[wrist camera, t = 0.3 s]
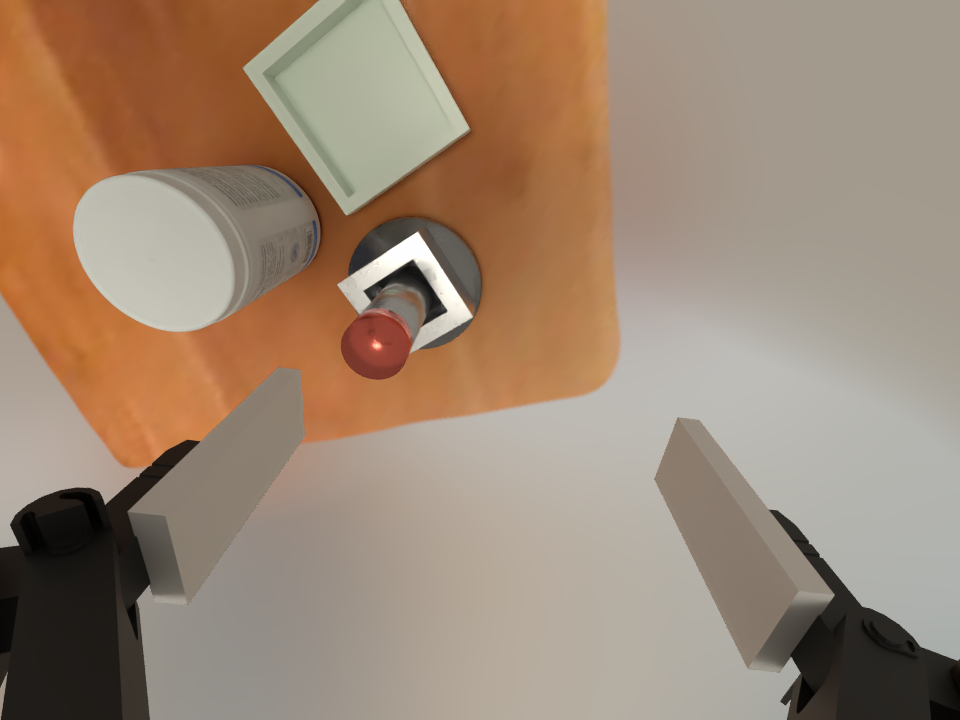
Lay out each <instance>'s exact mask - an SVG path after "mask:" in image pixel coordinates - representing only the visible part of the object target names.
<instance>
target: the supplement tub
mask: <svg viewBox="0 0 960 720" xmlns="http://www.w3.org/2000/svg"><path fill="white" fill-rule="evenodd" d="M73 236H74V243H75V247H76V251H77V254H78V257H79V259H80V262H81V264H82V266H83V268H84V270H85V272H86V274H87V275H88V277H89V278H90V280H91V281H92V283H93V284H94V285H95V287H96V288H97V289H98V290H99V292H100V293H101V294H102V295H103V296H104V297H105V298H106V299H107V300H108V301H109V302H110V303H112V304H113V305H114V306H115V307H116V308H118V309H119V310H120V311H122V312H123V313H124V314H126V315H128V316H129V317H131V318H133V319H135V320H136V321H138V322H140V323H143V324H145V325H147V326H150V327H153V328H156V329H160V330H165V331H172V332H187V331H194V330H198V329H201V328H204V327H206V326H208V325H211V324H214V323H216V322H219V321H221V320H223V319H225V318H226V317H228V316H230V315H231V314H233V313H235V312H237V311H238V310H240V309H242V308H243V307H245V306H246V305H248V304H250V303H251V302H253V301H254V300H256V299H258V298H259V297H261V296H263V295H264V294H266V293H267V292H269V291H271V290H272V289H274V288H275V287H277V286H279V285H280V284H282V283H283V282H285V281H287V280H288V279H290V278H292V277H293V276H295V275H296V274H298V273H299V272H301V271H302V270H304V269H305V268H306V267H307V266H308V265H309V264H310V263H311V262H312V260H313V259H314V257H315V255H316V253H317V251H318V248H319V243H320V223H319V219H318V215H317V212H316V210H315V207H314V205H313V204H312V202H311V200H310V199H309V197H308V196H307V194H306V193H305V192H304V191H303V190H302V189H301V187H300V186H298V185H297V184H296V183H295V182H294V181H293V180H292V179H290V178H289V177H288V176H286V175H285V174H283V173H281V172H279V171H277V170H274V169H272V168H269V167H265V166H260V165H236V166H216V167H195V168H174V169H157V170H143V171H136V172H131V173H126V174H123V175H117V176H113V177H109V178H106V179H104V180H101V181H99V182H98V183H96V184H95V185H93V186H92V187H91V188H89V189H88V190H87V191H86V193H85V194H84V195H83V196H82V198H81V200H80V201H79V203H78V205H77V208H76V211H75V215H74V221H73Z"/></svg>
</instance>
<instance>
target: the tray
mask: <svg viewBox="0 0 960 720" xmlns="http://www.w3.org/2000/svg"><path fill="white" fill-rule="evenodd" d="M243 70H244V71H245V73H246V74H247V75H248V77H249V78H250V80H251V81H252V82H253V84H254V85H255V87H256V88H257V90H258V91H259V92H260V94H261V95H262V97H263V98H264V100H265V101H266V102H267V104H268V105H269V107H270V108H271V109H272V111H273V112H274V114H275V115H276V117H277V118H278V119H279V121H280V122H281V124H282V125H283V127H284V128H285V129H286V131H287V132H288V134H289V135H290V136H291V138H292V139H293V141H294V142H295V144H296V145H297V146H298V148H299V149H300V151H301V152H302V154H303V155H304V156H305V158H306V159H307V161H308V162H309V163H310V165H311V166H312V168H313V169H314V171H315V172H316V173H317V175H318V176H319V178H320V179H321V181H322V182H323V183H324V185H325V186H326V188H327V189H328V190H329V192H330V193H331V195H332V196H333V198H334V199H335V200H336V202H337V203H338V205H339V206H340V208H341V209H342V210H343V212H344V213H345V215H346V216H347V215H350V214H353V213H356V212H357V211H358V210H360V209H361V208H363V207H364V206H366V205H367V204H368V203H370V202H371V201H373V200H374V199H375V198H377V197H378V196H380V195H381V194H383V193H384V192H385V191H387V190H388V189H390V188H391V187H393V186H394V185H395V184H397V183H398V182H400V181H401V180H403V179H404V178H405V177H407V176H408V175H410V174H411V173H413V172H414V171H415V170H417V169H418V168H420V167H421V166H422V165H424V164H425V163H427V162H428V161H430V160H431V159H432V158H434V157H435V156H437V155H438V154H440V153H441V152H442V151H444V150H445V149H447V148H448V147H450V146H451V145H452V144H454V143H455V142H457V141H458V140H459V139H461V138H462V137H464V136H465V135H467V134H468V133H469V132H471V129H470V127H469V125H468V124H467V122H466V120H465V118H464V116H463V115H462V113H461V111H460V109H459V107H458V105H457V104H456V102H455V100H454V98H453V96H452V95H451V93H450V91H449V89H448V87H447V85H446V84H445V82H444V80H443V78H442V76H441V75H440V73H439V71H438V69H437V67H436V66H435V64H434V62H433V60H432V58H431V56H430V55H429V53H428V51H427V49H426V47H425V46H424V44H423V42H422V40H421V38H420V36H419V35H418V33H417V31H416V29H415V27H414V26H413V24H412V22H411V20H410V18H409V17H408V15H407V13H406V11H405V9H404V7H403V6H402V4H401V2H400V0H319V1H318V2H317V3H316V4H314V5H313V6H312V7H311V8H310V9H309V10H308V11H306V12H305V13H304V14H303V15H302V16H301V17H300V18H299V19H297V20H296V21H295V22H294V23H293V24H292V25H291V26H290V27H288V28H287V29H286V30H285V31H284V32H283V33H282V34H280V35H279V36H278V37H277V38H276V39H275V40H274V41H273V42H271V43H270V44H269V45H268V46H267V47H266V48H265V49H263V50H262V51H261V52H260V53H259V54H258V55H257V56H256V57H254V58H253V59H252V60H251V61H250V62H249V63H248V64H247V65H245V66H244V67H243Z"/></svg>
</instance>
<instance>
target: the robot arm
mask: <svg viewBox="0 0 960 720" xmlns="http://www.w3.org/2000/svg"><path fill="white" fill-rule="evenodd" d="M304 437H305V431H304V414H303V398H302V381H301V370H297V369H289V368H281V367H278V368H277V369H276V370H275V371H274V372H273V373H272V374H271V375H270V376H269V377H268V378H267V379H266V380H264V381H263V382H262V383H261V384H260V385H259V386H258V387H257V388H256V389H255V390H254V391H253V392H252V393H251V394H250V395H249V396H248V397H247V398H246V399H245V400H244V401H243V402H241V403H240V404H239V405H238V406H237V407H236V408H235V409H234V410H233V411H232V412H231V413H230V414H229V415H228V416H227V417H226V418H225V419H224V420H223V421H222V422H221V423H220V424H218V425H217V426H216V427H215V428H214V429H213V430H212V431H211V432H210V433H209V434H208V435H207V436H206V437H205V438H204V439H203V440H202V441H193V440H186V441H184V442H182V443H180V444H178V445H176V446H174V447H172V448H170V449H168V450H167V451H166V452H164V453H163V454H162V455H161V456H160V457H159V458H158V459H157V460H155V461H154V462H153V463H152V466H149V467H147V468H146V469H145V470H144V471H143V472H142V473H141V474H140V476H139V477H136V478H135V479H134V480H133V481H132V482H131V483H129V484H128V485H127V486H126V487H125V488H124V489H123V490H122V491H120V492H119V493H118V494H117V495H116V496H115V497H114V498H112V499H111V500H110V501H109V502H108V503H107V504H106V505H105V504H104V501H103V498H102V496H101V494H100V492H98V491H96V490H94V489H91V488H71V489H65V490H60V491H57V492H54V493H51V494H49V495H46V496H43V497H41V498H39V499H37V500H35V501H34V502H32V503H30V504H28V505H27V506H25V508H23V509H22V510H21V511H20V512H18V513H17V514H16V515H15V517H14V519H13V520H12V522H11V524H10V526H11V528H12V530H13V532H14V535H15V537H16V539H17V541H18V543H19V546H12V547H4V548H0V687H1V685H2V683H3V680H4V678H5V676H6V674H7V672H8V674H7V682H6V688H5V695H4V702H3V710H2V716H1V720H150V717H149V706H148V696H147V686H146V676H145V665H144V655H143V645H142V635H141V624H140V614H139V607H138V604H137V601H136V600H137V599H138V598H139V596H140V595H141V594H142V593H143V592H144V590H145V589H146V588H147V587H148V585H150V588H151V592H152V595H153V598H154V601H155V602H163V603H173V604H181V605H189V603H190V602H191V600H192V598H193V597H194V596H195V594H196V593H197V592H198V590H199V589H200V587H201V586H202V584H203V583H204V582H205V580H206V579H207V577H208V576H209V574H210V573H211V571H212V570H213V568H214V567H215V566H216V564H217V563H218V561H219V560H220V558H221V557H222V555H223V554H224V552H225V551H226V550H227V548H228V547H229V545H230V544H231V542H232V541H233V540H234V538H235V537H236V535H237V534H238V532H239V531H240V529H241V528H242V527H243V525H244V524H245V522H246V521H247V519H248V518H249V516H250V515H251V513H252V512H253V511H254V509H255V508H256V506H257V505H258V503H259V502H260V500H261V499H262V498H263V496H264V495H265V493H266V492H267V490H268V489H269V487H270V486H271V485H272V483H273V482H274V480H275V478H276V477H277V476H278V474H279V473H280V471H281V470H282V469H283V467H284V466H285V464H286V463H287V461H288V460H289V458H290V457H291V455H292V454H293V453H294V451H295V450H296V448H297V447H298V445H299V444H300V443H301V441H302V440H303V438H304ZM655 481H656V483H657V486H658V487H659V489H660V492H661V494H662V495H663V497H664V499H665V502H666V504H667V506H668V508H669V510H670V512H671V514H672V516H673V518H674V520H675V522H676V524H677V526H678V528H679V530H680V532H681V534H682V536H683V538H684V540H685V542H686V544H687V546H688V548H689V550H690V553H691V555H692V557H693V559H694V561H695V562H696V565H697V567H698V569H699V571H700V573H701V575H702V577H703V579H704V581H705V583H706V585H707V587H708V589H709V591H710V593H711V595H712V597H713V599H714V601H715V603H716V605H717V607H718V609H719V611H720V613H721V616H722V618H723V620H724V622H725V624H726V626H727V628H728V630H729V632H730V633H731V636H732V638H733V640H734V642H735V644H736V646H737V648H738V650H739V652H740V654H741V656H742V658H743V660H744V662H745V664H746V666H747V668H748V669H753V670H762V671H771V672H780V671H781V670H782V668H783V667H784V666H785V664H786V663H787V661H788V660H789V658H790V657H792V659H793V661H794V662H795V664H796V666H797V667H798V669H799V671H800V672H801V674H800V675H799V676H798V678H797V679H796V680H795V682H794V683H793V684H792V686H791V687H790V689H789V690H788V691H787V692H786V694H785V695H784V696H783V698H782V700H781V702H782V703H783V704H784V705H786V704H787V703H788V702H789V701H790V700H791V702H790V707H789V713H788V717H787V720H960V659H959V660H958V661H957V660H954V659H951V658H948V657H946V656H943V655H940V654H938V653H935V652H932V651H930V650H927V649H925V648H921V647H920V646H919V645H918V643H917V642H916V641H915V639H914V638H913V637H912V636H911V635H910V634H909V633H908V632H907V631H906V630H905V629H903V628H902V627H901V626H900V625H899V624H897V623H896V622H894V621H893V620H891V619H890V618H888V617H887V616H885V615H883V614H881V613H879V612H877V611H875V610H872V609H870V608H865V607H862V606H861V605H860V603H859V602H858V601H857V600H856V598H855V597H854V596H853V595H852V594H851V593H850V591H849V590H848V589H847V588H846V586H845V585H844V584H843V583H842V581H841V580H840V579H839V578H838V576H837V575H836V574H835V573H834V572H833V570H832V569H831V568H830V567H829V565H828V564H827V563H826V562H825V561H824V559H823V558H820V556H819V555H820V554H819V553H818V552H817V551H816V550H815V548H814V547H813V546H812V545H811V544H809V541H808V540H807V538H806V537H805V536H804V535H803V534H802V532H801V531H800V530H799V529H798V527H797V526H796V525H795V524H794V523H792V522H791V521H790V520H789V519H787V518H786V517H785V516H784V515H782V514H781V513H780V512H779V511H777V510H769V509H768V508H767V507H766V506H765V504H764V503H763V502H762V500H761V499H760V498H759V497H758V495H757V494H756V493H755V491H754V490H753V489H752V488H751V486H750V485H749V484H748V483H747V481H746V480H745V479H744V477H743V476H742V475H741V473H740V472H739V471H738V469H737V468H736V467H735V466H734V464H733V463H732V462H731V461H730V459H729V458H728V457H727V455H726V454H725V453H724V451H723V450H722V449H721V448H720V446H719V445H718V444H717V442H716V441H715V440H714V439H713V437H712V436H711V435H710V433H709V432H708V431H707V429H706V428H705V427H704V426H703V424H702V423H701V422H700V421H699V420H694V419H686V418H677V421H676V423H675V426H674V429H673V432H672V434H671V437H670V439H669V442H668V445H667V447H666V450H665V452H664V455H663V458H662V460H661V463H660V466H659V469H658V471H657V473H656V476H655Z"/></svg>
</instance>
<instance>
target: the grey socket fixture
mask: <svg viewBox="0 0 960 720" xmlns="http://www.w3.org/2000/svg"><path fill="white" fill-rule="evenodd" d="M408 266H418V267H419V269H420V270H421V272H422V273H423V275H424V276H425V277H426V279H427V280H428V282H429V283H430V285H431V286H432V288H433V289H434V291H435V292H436V296H435V298H434V300H433V302H432V305H431V307H430V309H429V311H428V313H427V316H426V318H425V320H424V322H423V324H422V327H421V329H420V331H419V333H418V335H417V338H416V340H415V342H414V344H413V346H412V348H411V351H410V353H412V352H414V351H415V350H417V349H429V348H434V347H438V346H441V345H444V344H446V343H448V342H450V341H452V340H453V339H455V338H456V337H458V336H459V335H460V334H461V333H462V332H463V331H464V330H465V329H466V328H467V327H468V326H469V324H470V323H471V321H472V320H473V318H474V316H475V314H476V312H477V309H478V306H479V302H480V296H481V283H482V282H481V273H480V269H479V265H478V262H477V260H476V257H475V255H474V253H473V251H472V250H471V248H470V247H469V245H468V244H467V243H466V241H465V240H464V239H463V238H462V237H461V236H460V235H459V234H458V233H456V232H455V231H454V230H453V229H451V228H450V227H448V226H447V225H445V224H443V223H440V222H438V221H436V220H433V219H429V218H424V217H415V216H409V217H401V218H397V219H393V220H390V221H388V222H386V223H384V224H382V225H380V226H378V227H377V228H375V229H373V230H372V231H371V232H370V233H368V234H367V235H366V236H365V237H364V238H363V239H362V241H361V242H360V243H359V245H358V246H357V248H356V250H355V252H354V254H353V256H352V259H351V262H350V266H349V271H348V277H346V278H345V279H344V280H343V281H341V282H340V283H339V284H337V285H338V287H339V288H340V289H341V291H342V292H343V293H344V295H345V296H346V297H347V299H348V300H349V301H350V303H351V304H352V305H353V307H354V308H355V309H356V311H357V313H358V315H360V314H361V313H362V312H363V310H364V309H365V308H366V307H367V306H368V305H369V304H370V303H371V302H372V300H373V299H374V298H375V297H376V296H377V295H378V294H379V293H380V291H381V290H382V289H383V288H384V287H385V286H386V285H387V284H388V282H389V281H390V280H391V279H392V278H393V277H394V276H395V275H396V273H397V272H398V271H400V270H401V269H403V268H405V267H408ZM410 353H409V354H410Z"/></svg>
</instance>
